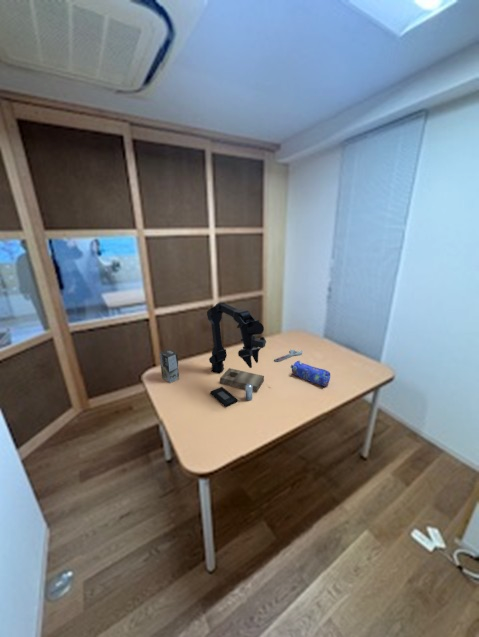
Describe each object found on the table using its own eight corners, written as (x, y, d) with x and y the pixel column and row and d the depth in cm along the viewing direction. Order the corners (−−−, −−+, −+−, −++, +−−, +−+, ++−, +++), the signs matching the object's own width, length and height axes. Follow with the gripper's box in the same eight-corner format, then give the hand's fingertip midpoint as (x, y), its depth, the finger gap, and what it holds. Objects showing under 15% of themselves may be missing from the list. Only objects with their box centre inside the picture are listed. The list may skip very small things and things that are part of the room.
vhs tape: (221, 389, 141) (221, 386, 140) (237, 402, 130) (237, 399, 130) (210, 394, 136) (210, 391, 136) (225, 408, 126) (225, 404, 125)
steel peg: (244, 399, 132) (244, 386, 129) (246, 395, 135) (247, 382, 132) (250, 401, 130) (251, 387, 128) (253, 397, 134) (253, 384, 131)
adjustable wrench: (268, 358, 177) (268, 355, 176) (296, 350, 190) (296, 347, 189) (276, 363, 171) (276, 360, 170) (304, 354, 183) (305, 351, 183)
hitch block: (220, 383, 146) (220, 377, 145) (229, 373, 157) (229, 368, 155) (256, 392, 138) (257, 386, 137) (263, 381, 149) (264, 375, 147)
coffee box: (179, 378, 150) (177, 353, 145) (170, 383, 145) (167, 357, 140) (170, 373, 156) (168, 348, 151) (161, 377, 151) (159, 352, 146)
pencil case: (289, 375, 155) (290, 361, 152) (296, 370, 161) (297, 356, 158) (324, 390, 141) (326, 374, 138) (330, 383, 147) (332, 368, 144)
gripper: (255, 336, 119) (263, 368, 119) (267, 329, 136) (274, 358, 136) (234, 340, 123) (241, 371, 124) (248, 333, 140) (254, 361, 141)
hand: (254, 365), depth 131 cm, fingers open, 9 cm apart
